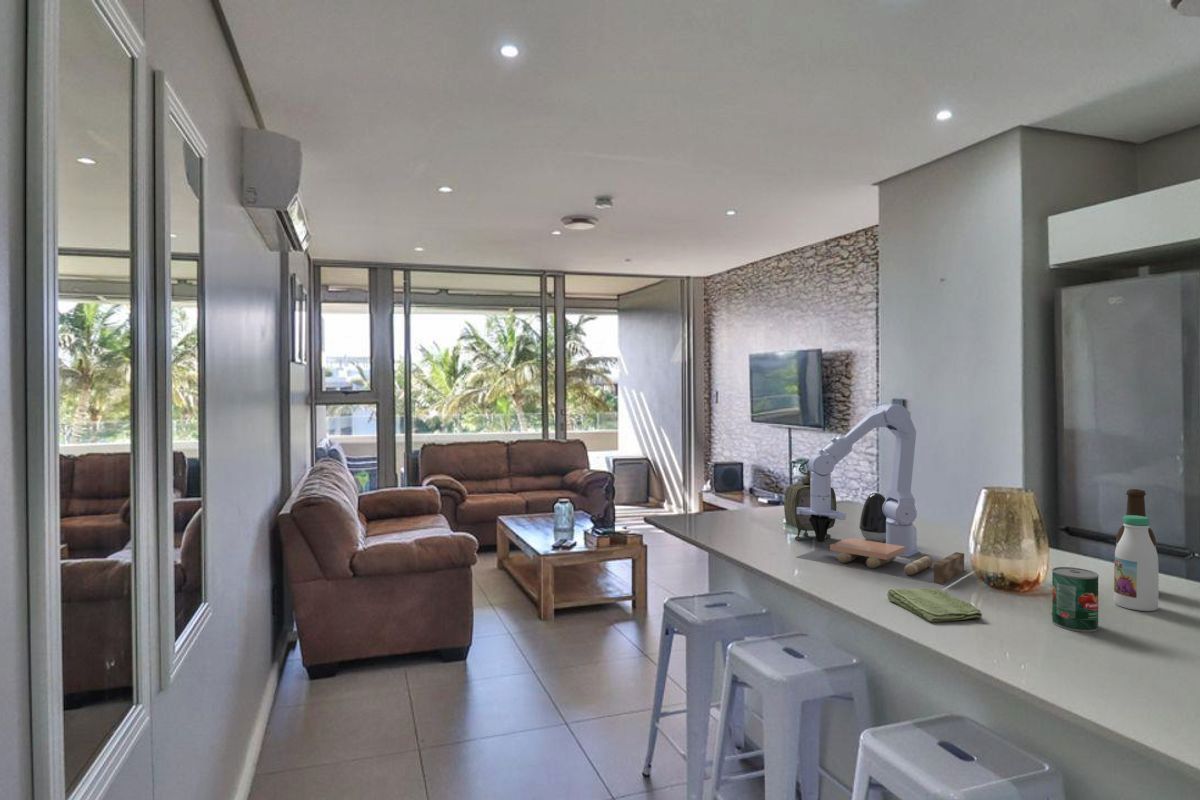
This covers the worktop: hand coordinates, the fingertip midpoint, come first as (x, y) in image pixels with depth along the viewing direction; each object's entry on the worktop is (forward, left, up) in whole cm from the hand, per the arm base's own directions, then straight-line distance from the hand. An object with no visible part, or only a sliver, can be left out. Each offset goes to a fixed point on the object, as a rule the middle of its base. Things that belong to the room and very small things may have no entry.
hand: (820, 541), depth 201 cm
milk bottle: (-4, +73, -4) cm, 73 cm away
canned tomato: (+19, +66, -4) cm, 69 cm away
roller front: (0, +18, -3) cm, 18 cm away
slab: (0, +14, 0) cm, 14 cm away
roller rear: (0, +10, -3) cm, 11 cm away
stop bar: (0, +35, -4) cm, 36 cm away
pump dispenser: (-29, +4, -4) cm, 30 cm away
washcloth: (+28, +41, -5) cm, 50 cm away
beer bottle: (-19, +71, -4) cm, 74 cm away
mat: (0, +17, -4) cm, 17 cm away
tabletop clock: (-17, -13, -4) cm, 22 cm away
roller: (0, +28, -3) cm, 28 cm away
